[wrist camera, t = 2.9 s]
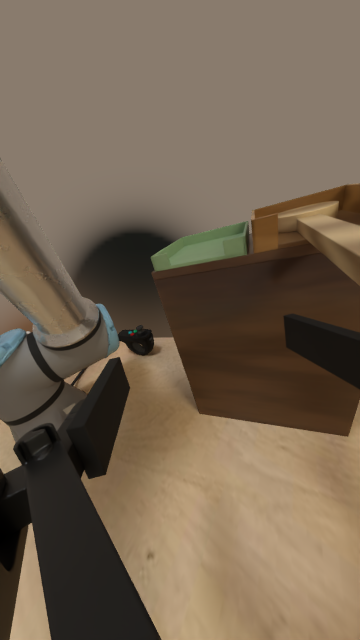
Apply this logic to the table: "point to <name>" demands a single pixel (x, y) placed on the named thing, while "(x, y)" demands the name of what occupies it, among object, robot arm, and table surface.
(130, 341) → the controller
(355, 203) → the brown wooden open box
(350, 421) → the stand
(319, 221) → the spoon
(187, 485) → the table surface
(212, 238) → the tray
